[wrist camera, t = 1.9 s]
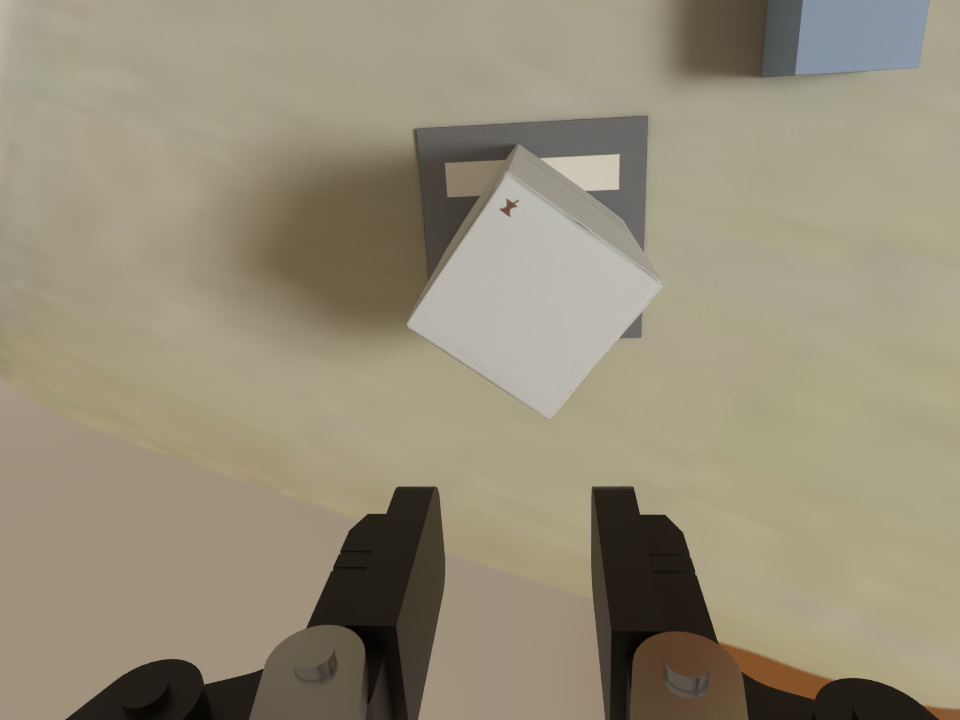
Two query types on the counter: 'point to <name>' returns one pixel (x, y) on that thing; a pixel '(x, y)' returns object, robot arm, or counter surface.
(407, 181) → the counter surface
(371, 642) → the robot arm
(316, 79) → the counter surface
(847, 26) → the slate blue cube
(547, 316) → the supplement box
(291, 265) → the counter surface
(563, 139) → the letter mat
